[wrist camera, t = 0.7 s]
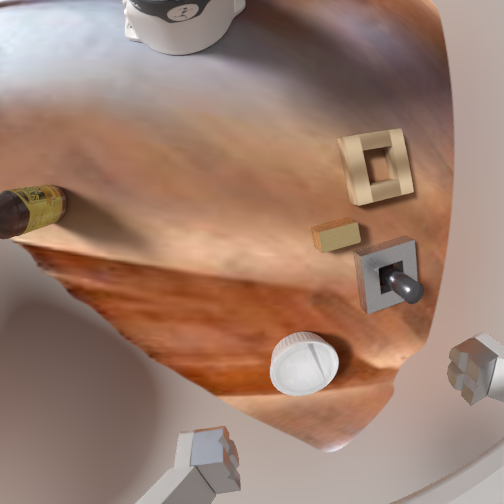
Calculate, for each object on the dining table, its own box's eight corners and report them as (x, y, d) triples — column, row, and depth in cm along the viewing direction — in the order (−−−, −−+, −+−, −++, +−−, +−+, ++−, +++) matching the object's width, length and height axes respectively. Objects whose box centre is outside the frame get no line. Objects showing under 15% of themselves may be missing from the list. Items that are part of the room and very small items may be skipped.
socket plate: (353, 251, 47) (360, 256, 44) (405, 235, 47) (414, 239, 44) (360, 306, 49) (367, 314, 46) (409, 289, 49) (418, 295, 47)
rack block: (336, 138, 42) (343, 137, 39) (392, 130, 42) (401, 128, 39) (350, 203, 45) (358, 205, 42) (404, 190, 45) (413, 192, 42)
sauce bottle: (70, 186, 41) (-13, 200, 21) (66, 225, 42) (-13, 259, 23) (39, 181, 40) (-46, 194, 21) (36, 219, 41) (-45, 248, 22)
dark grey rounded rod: (374, 265, 48) (405, 286, 38) (390, 260, 48) (423, 279, 38) (376, 283, 48) (405, 306, 39) (392, 277, 49) (423, 299, 39)
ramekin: (342, 341, 51) (352, 357, 46) (304, 386, 53) (311, 404, 48) (291, 314, 49) (298, 330, 44) (254, 364, 51) (257, 382, 46)
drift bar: (310, 227, 45) (318, 232, 41) (347, 217, 45) (357, 221, 41) (314, 246, 46) (322, 253, 42) (350, 236, 46) (361, 242, 42)
